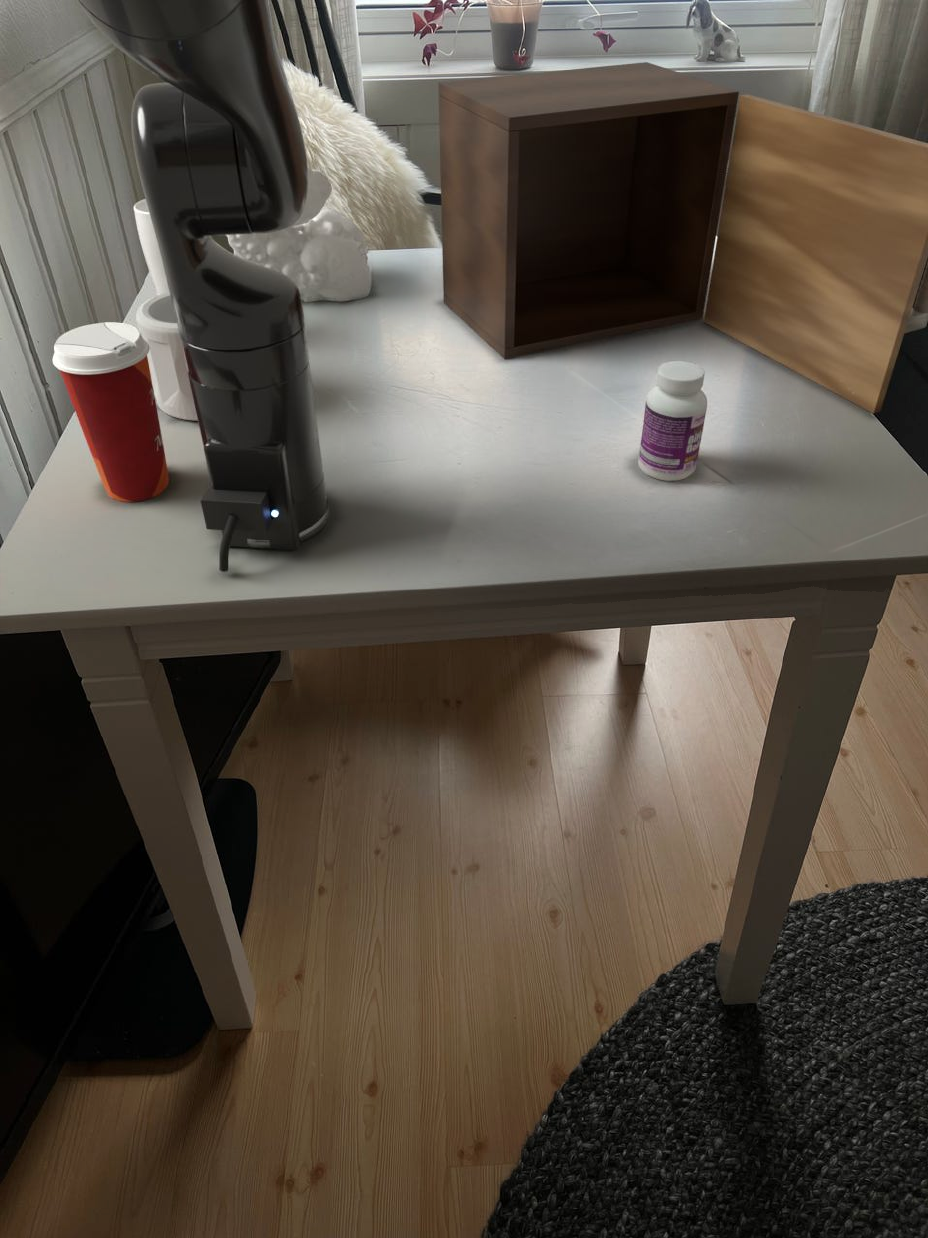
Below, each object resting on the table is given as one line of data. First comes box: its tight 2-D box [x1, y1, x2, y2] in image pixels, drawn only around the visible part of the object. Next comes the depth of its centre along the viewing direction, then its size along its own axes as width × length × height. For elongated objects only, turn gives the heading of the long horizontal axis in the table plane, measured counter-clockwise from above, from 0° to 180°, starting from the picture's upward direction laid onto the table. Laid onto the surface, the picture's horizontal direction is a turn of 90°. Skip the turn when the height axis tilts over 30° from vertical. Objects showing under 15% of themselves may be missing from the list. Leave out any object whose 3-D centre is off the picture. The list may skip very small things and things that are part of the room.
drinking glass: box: [133, 198, 170, 296], centre depth 105 cm, size 7×7×15 cm
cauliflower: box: [225, 166, 372, 303], centre depth 118 cm, size 19×20×20 cm
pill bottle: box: [637, 360, 708, 482], centre depth 84 cm, size 5×5×10 cm
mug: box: [135, 292, 198, 422], centre depth 96 cm, size 14×11×10 cm
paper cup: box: [52, 321, 170, 503], centre depth 81 cm, size 8×8×14 cm
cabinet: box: [437, 61, 740, 360], centre depth 107 cm, size 18×26×24 cm
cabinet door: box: [703, 93, 928, 415], centre depth 96 cm, size 7×26×24 cm, turn 28°
